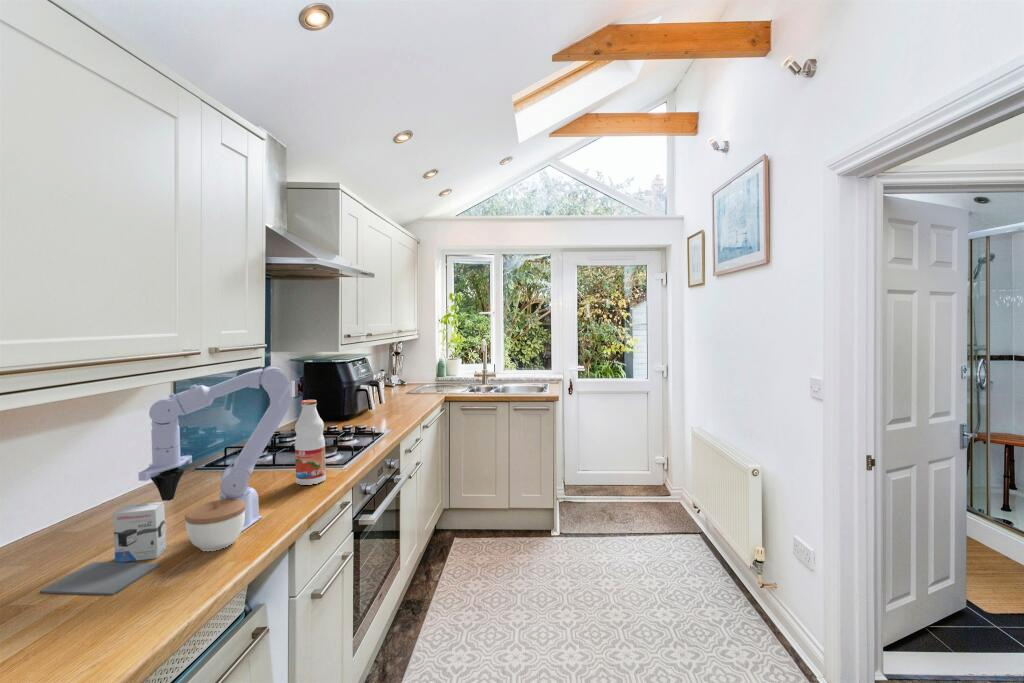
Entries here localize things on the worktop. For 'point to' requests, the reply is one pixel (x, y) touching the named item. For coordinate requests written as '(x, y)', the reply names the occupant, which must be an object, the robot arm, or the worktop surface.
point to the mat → (101, 578)
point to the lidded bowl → (215, 523)
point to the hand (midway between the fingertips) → (167, 499)
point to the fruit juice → (309, 445)
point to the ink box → (139, 532)
